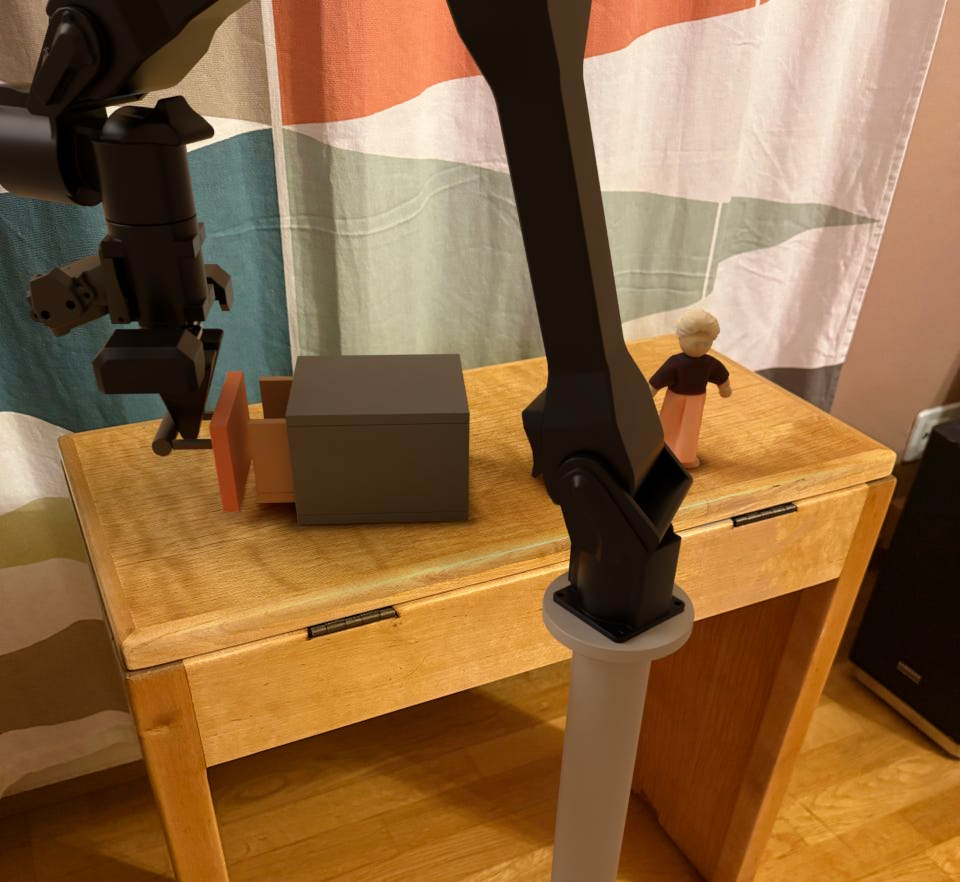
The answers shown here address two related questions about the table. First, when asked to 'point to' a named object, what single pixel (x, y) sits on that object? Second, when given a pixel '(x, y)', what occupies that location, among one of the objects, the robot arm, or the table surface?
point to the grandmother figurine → (689, 384)
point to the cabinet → (379, 439)
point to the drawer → (243, 441)
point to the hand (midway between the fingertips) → (190, 437)
